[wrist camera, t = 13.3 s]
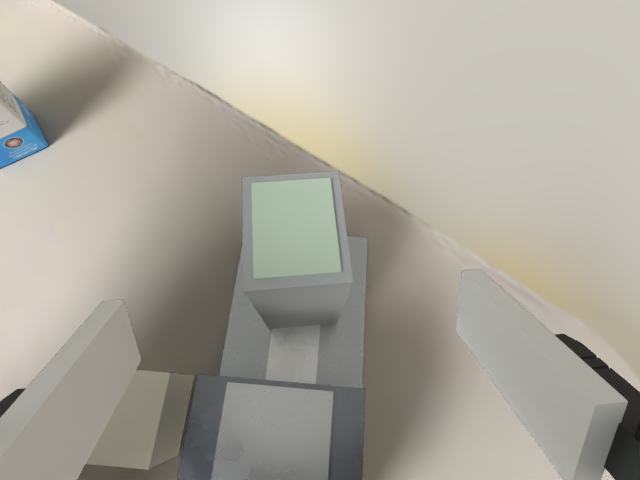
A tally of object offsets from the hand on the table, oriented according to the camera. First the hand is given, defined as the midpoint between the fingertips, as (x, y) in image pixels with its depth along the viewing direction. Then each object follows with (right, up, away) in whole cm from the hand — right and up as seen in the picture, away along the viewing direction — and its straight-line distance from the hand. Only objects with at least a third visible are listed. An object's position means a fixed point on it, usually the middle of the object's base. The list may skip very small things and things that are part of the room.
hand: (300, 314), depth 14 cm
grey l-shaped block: (-1, -7, +13) cm, 14 cm away
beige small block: (-10, -9, +12) cm, 18 cm away
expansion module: (-1, -1, +14) cm, 14 cm away
